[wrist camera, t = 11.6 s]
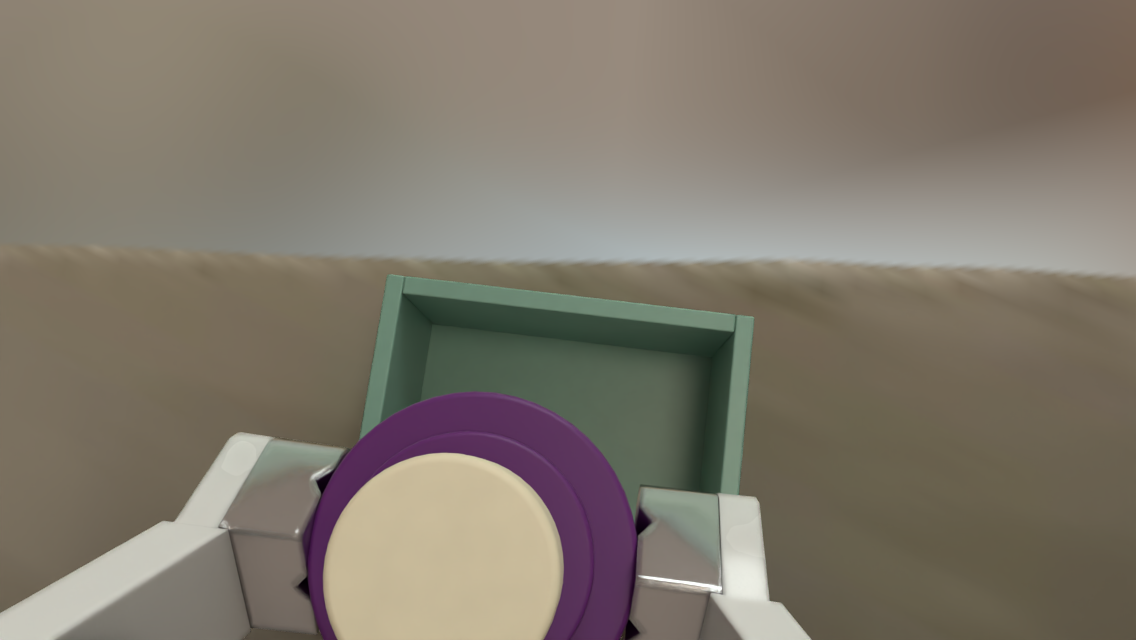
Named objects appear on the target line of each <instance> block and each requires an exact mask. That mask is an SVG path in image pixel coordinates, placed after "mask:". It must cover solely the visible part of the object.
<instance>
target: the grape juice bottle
mask: <svg viewBox="0 0 1136 640" xmlns="http://www.w3.org/2000/svg"><path fill="white" fill-rule="evenodd" d="M636 553H637V533H636V528H635V524H634V519H633V514H632V511H631V508H630V505H629V502H628V499H627V496H626V494H625V491H624V489H623V487H622V485H621V483H620V481H619V479H618V477H617V475H616V473H615V471H614V470H613V468H612V467H611V465H610V464H609V462H608V461H607V459H606V458H605V456H604V455H603V454H602V452H601V451H600V450H599V449H598V448H597V447H596V446H595V445H594V443H593V442H592V441H591V440H590V439H589V438H588V437H587V436H586V435H585V434H584V433H582V432H581V431H580V430H579V429H578V428H577V427H575V426H574V425H573V424H572V423H570V422H569V421H567V420H566V419H564V418H563V417H561V416H560V415H558V414H557V413H555V412H553V411H551V410H549V409H547V408H545V407H543V406H541V405H539V404H537V403H535V402H532V401H528V400H525V399H522V398H519V397H516V396H511V395H506V394H501V393H496V392H478V391H472V392H458V393H451V394H446V395H441V396H436V397H432V398H429V399H426V400H423V401H421V402H418V403H415V404H412V405H410V406H408V407H406V408H404V409H402V410H400V411H398V412H396V413H394V414H393V415H391V416H390V417H388V418H387V419H385V420H384V421H382V422H381V423H379V424H378V425H376V426H375V427H374V428H373V429H372V430H371V431H369V432H368V433H367V434H366V435H365V436H364V437H363V438H361V439H360V440H359V441H358V443H357V444H356V445H355V446H354V447H353V448H352V449H351V450H350V451H349V453H348V454H347V455H346V456H345V457H344V459H343V460H342V462H341V463H340V465H339V466H338V468H337V469H336V470H335V472H334V473H333V475H332V477H331V479H330V481H329V483H328V485H327V487H326V488H325V490H324V492H323V495H322V497H321V500H320V503H319V506H318V509H317V512H316V515H315V521H314V526H313V532H312V537H311V543H310V549H309V555H308V585H309V592H310V599H311V604H312V608H313V612H314V615H315V619H316V623H317V625H318V628H319V630H320V633H321V635H322V637H323V640H620V638H621V636H622V634H623V631H624V629H625V627H626V625H627V622H628V619H629V616H630V608H631V600H632V591H633V582H634V572H635V563H636Z"/></svg>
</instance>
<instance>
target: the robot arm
mask: <svg viewBox="0 0 1136 640" xmlns="http://www.w3.org/2000/svg"><path fill="white" fill-rule="evenodd" d="M349 451H350V449H349V448H346V447H340V446H333V445H326V444H320V443H313V442H307V441H300V440H293V439H287V438H280V437H275V438H274V437H268V436H261V435H255V434H249V433H242V432H238V433H237V434H235V435H234V436H232V437H231V438H230V439H228V441H227V442H226V444H225V445H224V447H223V448H222V450H221V451H220V453H219V454H218V456H217V457H216V459H215V460H214V462H213V464H212V465H211V467H210V468H209V470H208V471H207V473H206V474H205V476H204V477H203V479H202V480H201V482H200V483H199V485H198V486H197V488H196V489H195V491H194V492H193V494H192V495H191V497H190V498H189V500H188V502H187V503H186V505H185V506H184V508H183V509H182V511H181V512H180V514H179V515H178V517H177V518H176V520H175V521H174V522H168V521H162V522H160V523H158V524H156V525H155V526H153V527H151V528H149V529H148V530H146V531H144V532H142V533H141V534H139V535H137V536H135V537H134V538H132V539H130V540H128V541H126V542H125V543H123V544H121V545H119V546H118V547H116V548H114V549H112V550H111V551H109V552H107V553H105V554H104V555H102V556H100V557H98V558H97V559H95V560H93V561H91V562H90V563H88V564H86V565H84V566H82V567H81V568H79V569H77V570H75V571H74V572H72V573H70V574H68V575H67V576H65V577H63V578H61V579H60V580H58V581H56V582H54V583H53V584H51V585H49V586H47V587H45V588H44V589H42V590H40V591H38V592H37V593H35V594H33V595H31V596H30V597H28V598H26V599H24V600H23V601H21V602H19V603H17V604H16V605H14V606H12V607H10V608H9V609H7V610H5V611H3V612H1V613H0V640H242V639H243V638H244V637H246V636H247V635H248V634H249V633H250V632H251V628H258V629H267V630H276V631H285V632H294V633H303V634H312V635H317V633H318V631H319V628H318V625H317V623H316V619H315V615H314V612H313V608H312V604H311V599H310V592H309V585H308V555H309V549H310V543H311V537H312V532H313V526H314V521H315V515H316V512H317V509H318V506H319V503H320V500H321V497H322V495H323V492H324V490H325V488H326V487H327V485H328V483H329V481H330V479H331V477H332V475H333V473H334V472H335V470H336V469H337V468H338V466H339V465H340V463H341V462H342V460H343V459H344V457H345V456H346V455H347V454H348V453H349ZM635 528H636V533H637V553H636V563H635V572H634V582H633V591H632V600H631V608H630V616H629V619H628V622H627V625H626V627H625V629H624V631H623V635H622V640H811V639H810V637H809V636H808V635H807V634H806V632H805V631H804V630H803V629H802V627H801V626H800V625H799V624H798V623H797V621H796V620H795V619H794V618H793V616H792V615H791V614H790V613H789V611H788V610H787V609H786V608H785V607H784V605H783V604H782V603H779V602H772V601H770V600H769V591H768V581H767V571H766V562H765V552H764V543H763V533H762V523H761V514H760V504H759V502H758V500H757V499H756V497H750V496H741V495H732V494H723V493H717V494H715V493H713V492H705V491H696V490H687V489H679V488H670V487H662V486H653V485H644V484H640V487H639V491H638V497H637V503H636V514H635Z"/></svg>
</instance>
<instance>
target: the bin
mask: <svg viewBox="0 0 1136 640" xmlns="http://www.w3.org/2000/svg"><path fill="white" fill-rule="evenodd" d="M753 328H754V317H751V316H742V315H736V316H735V315H734V314H726V313H718V312H709V311H700V310H692V309H683V308H675V307H666V306H657V305H649V304H640V303H632V302H623V301H615V300H606V299H597V298H589V297H580V296H572V295H563V294H554V293H546V292H537V291H529V290H520V289H512V288H503V287H494V286H486V285H477V284H469V283H460V282H451V281H443V280H434V279H426V278H417V277H409V276H406V277H404V276H399V275H391V274H389V275H387V279H386V285H385V291H384V297H383V302H382V308H381V314H380V320H379V326H378V332H377V338H376V344H375V349H374V355H373V361H372V367H371V373H370V379H369V385H368V390H367V396H366V402H365V408H364V414H363V420H362V426H361V431H360V437H359V440H360V439H361V438H363V437H364V436H365V435H366V434H367V433H368V432H369V431H371V430H372V429H373V428H374V427H375V426H376V425H378V424H379V423H381V422H382V421H384V420H385V419H387V418H388V417H390V416H391V415H393V414H394V413H396V412H398V411H400V410H402V409H404V408H406V407H408V406H410V405H412V404H415V403H418V402H421V401H423V400H426V399H429V398H432V397H436V396H441V395H446V394H451V393H458V392H472V391H478V392H496V393H501V394H506V395H511V396H516V397H519V398H522V399H525V400H528V401H532V402H535V403H537V404H539V405H541V406H543V407H545V408H547V409H549V410H551V411H553V412H555V413H557V414H558V415H560V416H561V417H563V418H564V419H566V420H567V421H569V422H570V423H572V424H573V425H574V426H575V427H577V428H578V429H579V430H580V431H581V432H582V433H584V434H585V435H586V436H587V437H588V438H589V439H590V440H591V441H592V442H593V443H594V445H595V446H596V447H597V448H598V449H599V450H600V451H601V452H602V454H603V455H604V456H605V458H606V459H607V461H608V462H609V464H610V465H611V467H612V468H613V470H614V471H615V473H616V475H617V477H618V479H619V481H620V483H621V485H622V487H623V489H624V491H625V494H626V496H627V499H628V502H629V505H630V508H631V511H632V514H633V519H634V524H635V514H636V503H637V497H638V491H639V487H640V484H644V485H653V486H662V487H670V488H679V489H687V490H696V491H705V492H713V493H715V494H717V493H723V494H732V495H739V488H740V476H741V465H742V454H743V442H744V431H745V419H746V408H747V397H748V385H749V374H750V363H751V351H752V340H753Z"/></svg>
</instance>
